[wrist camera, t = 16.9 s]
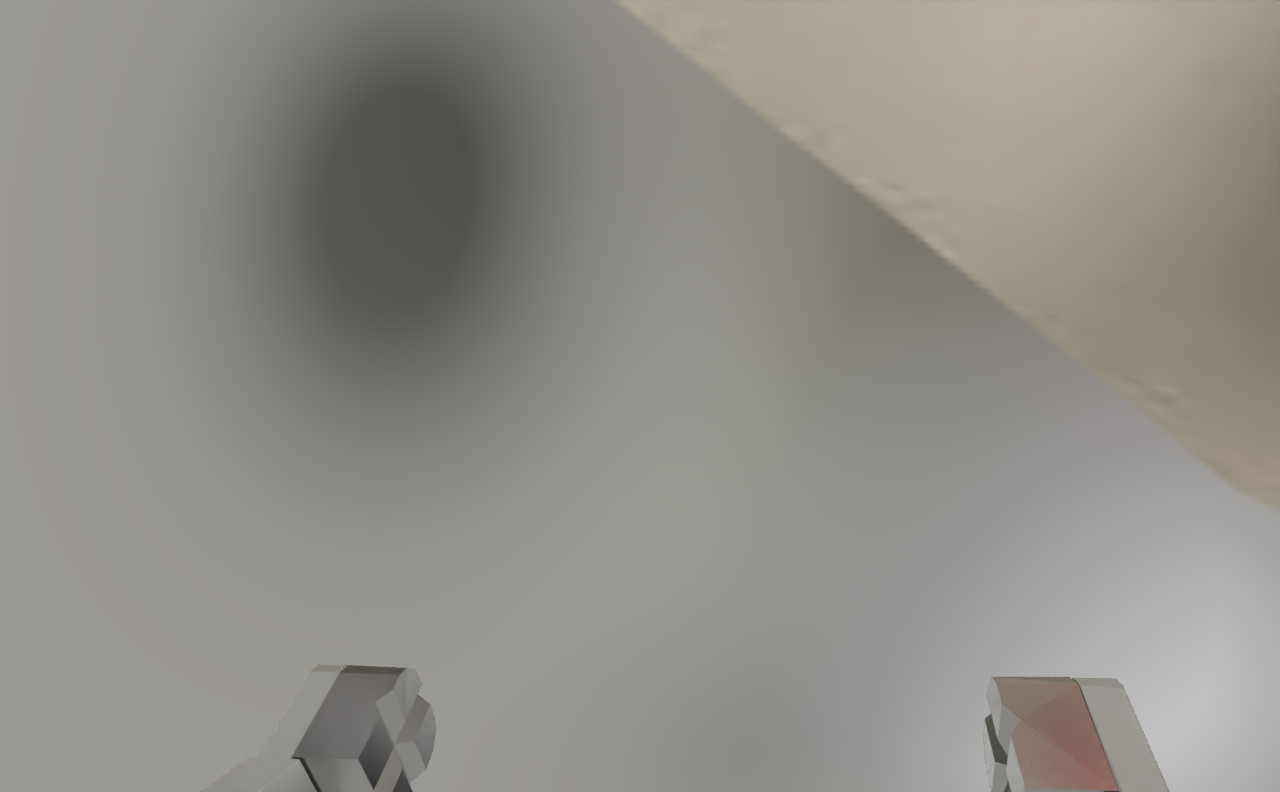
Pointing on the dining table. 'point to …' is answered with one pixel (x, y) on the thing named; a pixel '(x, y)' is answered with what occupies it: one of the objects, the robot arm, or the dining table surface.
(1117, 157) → the dining table surface
